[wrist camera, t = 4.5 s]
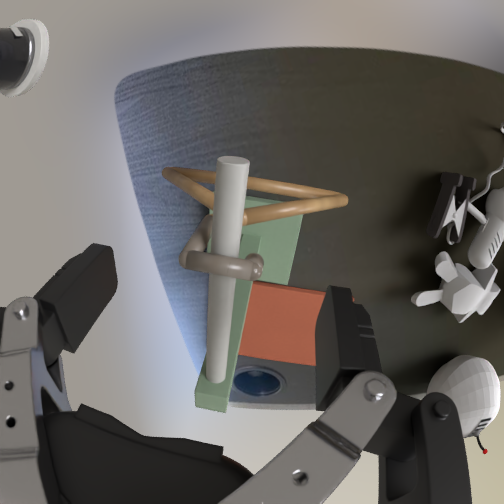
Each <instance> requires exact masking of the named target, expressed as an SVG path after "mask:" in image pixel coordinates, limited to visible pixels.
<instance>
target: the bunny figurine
mask: <svg viewBox="0 0 504 504" xmlns="http://www.w3.org/2000/svg"><path fill="white" fill-rule="evenodd" d="M435 268H436V273H437V274H438V275H439V276H441V277H442V281H441V284H440V287H439V289H438V290H431V291H420V292H417V293H415V294H414V295H413V296H412V298H411V301H412V303H414V304H415V305H417V306H424V305H427V304H431V303H434V302H437V301H441V302H442V303H443V304H444V305H445V306H446V307H447V308H448V309H449V310H450V311H451V312H452V313H453V314H454V316H455V317H456V319H457V321H458V322H459V323H461V322H463V321H464V320H465V319H467V318H468V317H469V316H470V315H471V314H472V313H474V312H475V311H477V312H478V313H479V314H480V315H482V314H483V313H484V312H485V311H486V310H487V309H488V308H489V306H490V305H491V303H492V301H493V300H494V299H495V298H496V296H497V295H498V293H499V292H500V288H499V287H498V286H497V285H496V283H494V279H495V276H496V274H497V271H498V270H497V269H496V268H495V267H494V265H493V264H492V263H491V264H490V266H489V267H488V268H485V269H478V268H477V269H476V270H474V271H473V272H470V271H469V270H468V269H467V268H466V267H465V266H463V265H461V264H458V263H455V264H453V262H452V260H451V258H450V256H449V254H448V253H446V252H445V251H444V252H440V253H439V254H438V255H437V257H436V259H435Z"/></svg>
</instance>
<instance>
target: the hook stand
mask: <svg viewBox="0 0 504 504" xmlns="http://www.w3.org/2000/svg"><path fill="white" fill-rule="evenodd" d="M249 165H250V162H249V160H247V159H245V158H241V157H236V156H223V157H219V158H218V159H217V168H216V180H215V191H213V193H214V206H213V211H212V210H211V209H210V210H209V214H213V221H212V236H211V238H210V240H209V242H208V244H207V253H212V254H218V255H224V256H229V257H235V258H241V259H245V258H246V256H247V255H249V254H250V253H258V254H259V255H261V256H262V258H263V260H264V265H263V271H262V275H261V277H260V278H259V279H257V280H260V281H266V282H272V283H278V284H285V285H287V284H288V280H289V275H290V271H291V267H292V262H293V258H294V253H295V249H296V245H297V240H298V235H299V231H300V226H301V222H302V217H303V214H301V215H296V216H291V217H286V218H281V219H276V220H271V221H266V222H261V223H256V224H251V225H247V226H242V222H243V214H244V209H245V208H251V207H257V206H263V205H270V204H276V203H282V201H276V200H270V199H263V198H257V197H251V196H246V189H247V181H248V173H249ZM252 284H253V281H248V280H243V279H237V278H231V277H226V276H221V275H215V274H210V273H209V293H208V319H207V352H206V355H205V359H204V362H203V365H202V368H201V372H200V375H199V378H198V382H197V385H196V388H195V406H196V407H199V408H204V409H208V410H213V411H218V412H223V413H226V410H227V405H228V400H229V396H230V391H231V386H232V381H233V376H234V372H235V367H236V362H237V357H238V352H239V347H240V343H241V338H242V333H243V328H244V323H245V318H246V313H247V308H248V303H249V298H250V294H251V289H252Z"/></svg>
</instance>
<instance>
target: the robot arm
mask: <svg viewBox="0 0 504 504" xmlns="http://www.w3.org/2000/svg"><path fill="white" fill-rule="evenodd" d="M34 54H35V39H34V36H33V33H32V32H31V31H30V30H29V29H28V28H25V27H16V26H10V28H0V90H8V89H13V88H16V87H17V86H19V85H20V84H21V83H22V82H23V81H24V79H25V78H26V76H27V75H28V73H29V71H30V69H31V66H32V63H33V59H34ZM117 283H118V281H117V273H116V267H115V260H114V254H113V250H112V248H111V247H110V246H106V245H100V244H95V243H93V244H91V245H90V246H89V247H88V248H87V249H86V250H85V251H84V252H83V253H82V254H79V255H77V256H75V257H73V258H71V259H69V260H68V261H67V262H66V263H65V264H64V265H63V266H62V268H61V269H59V270H58V271H57V273H55V276H53V277H52V278H51V279H50V280H49V281H48V282H47V283H46V284H45V285H44V286H43V287H42V288H41V289H40V290H39V292H37V294H36V295H35V296H34V297H33V298H32V297H21V298H18V299H16V300H14V301H12V302H11V303H10V304H9V305H8V306H7V307H0V504H323V502H324V501H325V500H326V499H327V498H328V497H329V496H330V495H331V493H332V492H333V491H334V490H335V489H336V488H337V486H338V485H339V484H340V483H341V482H342V480H343V479H344V478H345V477H346V476H347V474H348V473H349V472H350V471H351V469H352V468H353V467H354V466H355V464H356V463H357V461H358V460H359V458H360V456H361V455H360V453H361V452H362V450H363V451H367V452H370V453H373V454H377V455H379V499H378V500H379V501H378V504H472V497H471V487H470V477H469V470H468V463H467V456H466V451H465V444H464V439H463V433H462V428H461V423H460V419H459V414H458V410H457V407H456V405H455V403H454V402H453V400H452V399H451V398H450V397H448V396H447V395H445V394H443V393H440V392H432V393H429V394H427V395H426V396H425V397H424V398H423V399H422V400H419V399H416V398H413V397H410V396H406V395H403V394H401V393H399V392H397V391H396V388H395V386H394V384H393V382H392V381H391V380H390V379H389V378H388V377H387V376H386V375H384V374H383V373H382V369H381V364H380V359H379V354H378V350H377V345H376V341H375V338H374V332H373V329H372V323H371V319H370V315H369V314H368V313H367V311H366V310H365V309H364V307H363V306H362V305H360V304H354V303H353V298H352V293H351V290H350V288H343V287H337V286H330V285H329V286H328V288H327V290H326V293H325V296H324V299H323V302H322V305H321V308H320V311H319V314H318V317H317V321H316V326H315V360H316V410H317V411H325V412H324V413H323V414H322V415H321V416H320V417H319V418H318V419H317V420H316V421H315V422H312V423H311V424H309V425H308V426H307V427H306V428H305V429H304V430H303V431H302V432H301V433H300V434H299V435H298V436H297V437H296V438H295V439H294V440H293V441H292V442H291V443H290V444H289V445H287V446H286V448H284V449H283V450H282V451H281V452H280V453H279V454H278V455H277V456H276V457H274V458H273V459H272V460H271V461H270V462H269V463H268V464H266V465H265V466H264V467H263V468H262V469H261V470H260V471H258V472H257V473H256V474H255V475H253V474H252V473H251V472H250V471H249V470H248V469H247V468H245V467H244V466H242V465H241V464H240V463H238V462H236V461H234V460H232V459H231V458H228V457H226V456H224V455H223V447H222V446H218V445H213V444H208V443H203V442H199V441H194V440H190V439H186V438H165V437H149V436H143V435H141V434H139V433H137V432H136V431H134V430H133V429H131V428H130V427H128V426H126V425H125V424H123V423H122V422H120V421H119V420H117V419H116V418H114V417H113V416H111V415H109V414H106V413H103V412H101V411H98V410H96V409H94V408H91V407H89V406H86V405H84V404H81V405H80V407H79V408H78V411H72V409H71V407H70V405H69V401H68V398H67V392H66V386H65V380H64V372H63V364H62V358H61V355H60V353H61V352H62V350H63V349H64V350H66V351H69V352H71V353H75V351H76V350H77V348H78V347H79V345H80V344H81V342H82V341H83V339H84V338H85V336H86V335H87V333H88V332H89V330H90V329H91V327H92V326H93V324H94V323H95V321H96V320H97V318H98V317H99V316H100V314H101V313H102V311H103V310H104V308H105V307H106V306H107V304H108V303H109V301H110V300H111V299H112V297H113V296H114V294H115V292H116V289H117Z"/></svg>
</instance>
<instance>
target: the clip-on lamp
mask: <svg viewBox="0 0 504 504" xmlns="http://www.w3.org/2000/svg"><path fill="white" fill-rule="evenodd" d="M503 126H504V122H503V123H502V124H501V131H502V133H504V129H503ZM503 166H504V159H503V163H502V165H501V166H500V167H499V168H498V169H497V170H495V171H493V172H491V173H490V174H489V175H488V176H487V185H486V188H485V189H484V190H483V191H482V192H480V193H479V194H477V195H475V196H474V197H473V198H471V199H470V200H469V197H470V191H471V190H475V187H476V179H475V178H471V177H465V176H462V175H461V174H457V173H449V172H443V173H442V175H441V179H440V182H441V183H443V184H442V187H441V190H440V193H439V196H438V199H437V202H436V205H435V207H434V210H433V213H432V216H431V218H430V221H429V223H428V226H427V230H426V233H427V234H428V235H429V236H431V237H433V238H437V237H438V236H439V234H440V232H441V229H442V227H444V226H445V225H446V224H447V228H448V232H447V242H448V243H449V244H450V245H452V244H454V243H459V242H460V241H461V238H462V234H463V229H464V224H465V220H466V214H467V211H468V212H469V213H471V214H472V215H473V216H474V217H475V218H476V219H477V220H478V221H480V222H481V225H480V228H479V230H478V232H477V234H476V236H475V238H474V240H473V242H472V244H471V245H470V247H469V249H468V258H469V261H470V263H471V264H472V265H473V266H474V267H476V268H478V269H485V268H488V267H489V266H490V264H491V262H492V261H493V259H494V257H495V255H496V253H497V251H498V250H499V248H500V246H501V244H502V242H503V240H504V187H503V188H501V189H499V190H498V189H493V190H492V191H491V192H490V193H489V195H488V196H487V199H486V215H485V216H484V215H483V214H482V213H481V212H480V211H479V210H478V209H477V208H475V207H474V206H473V205H472V204H471V203H472V202H473V201H474V200H476V199H477V198H479V197H480V196H482V195H483V194H485V193H486V192H487V191H488V190H489V187H490V178H491V176H492V175H493V174H495V173H497V172H499V171H500V170H501V169H502V168H503ZM455 190H456V194H455V197H454V193H455ZM449 239H450V240H451V241H449Z"/></svg>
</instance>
